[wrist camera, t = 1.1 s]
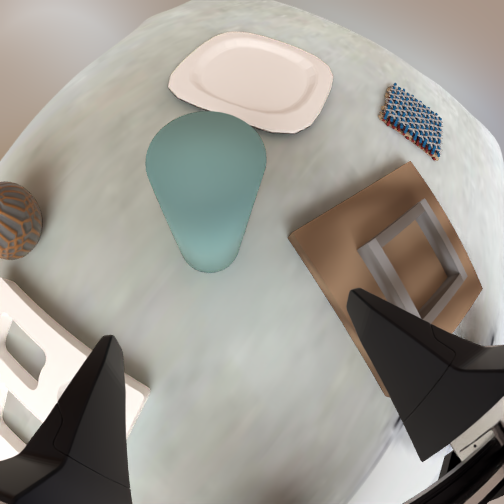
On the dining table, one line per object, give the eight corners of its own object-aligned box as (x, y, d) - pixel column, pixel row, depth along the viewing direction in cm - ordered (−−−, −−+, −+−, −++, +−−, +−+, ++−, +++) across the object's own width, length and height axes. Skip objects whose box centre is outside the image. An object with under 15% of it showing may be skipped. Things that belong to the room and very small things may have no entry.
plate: (337, 73, 32) (341, 65, 30) (299, 157, 27) (304, 148, 25) (224, 33, 32) (225, 24, 30) (151, 100, 27) (149, 90, 25)
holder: (67, 572, 8) (63, 580, 5) (-21, 504, 8) (-28, 508, 5) (153, 388, 20) (145, 395, 17) (15, 280, 20) (-1, 275, 18)
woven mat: (438, 124, 33) (445, 117, 31) (434, 166, 30) (443, 159, 28) (386, 86, 33) (391, 78, 32) (374, 122, 31) (381, 113, 29)
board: (474, 290, 26) (494, 285, 23) (385, 395, 22) (406, 402, 18) (403, 166, 28) (419, 152, 25) (287, 237, 24) (298, 224, 21)
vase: (47, 190, 22) (3, 146, 14) (57, 248, 21) (2, 215, 13) (3, 219, 21) (-44, 187, 12) (10, 276, 20) (-46, 256, 11)
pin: (250, 253, 23) (289, 175, 11) (199, 284, 22) (178, 234, 10) (220, 205, 24) (227, 98, 12) (170, 233, 23) (129, 141, 10)
